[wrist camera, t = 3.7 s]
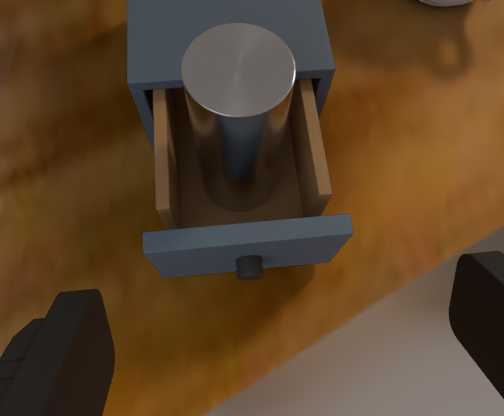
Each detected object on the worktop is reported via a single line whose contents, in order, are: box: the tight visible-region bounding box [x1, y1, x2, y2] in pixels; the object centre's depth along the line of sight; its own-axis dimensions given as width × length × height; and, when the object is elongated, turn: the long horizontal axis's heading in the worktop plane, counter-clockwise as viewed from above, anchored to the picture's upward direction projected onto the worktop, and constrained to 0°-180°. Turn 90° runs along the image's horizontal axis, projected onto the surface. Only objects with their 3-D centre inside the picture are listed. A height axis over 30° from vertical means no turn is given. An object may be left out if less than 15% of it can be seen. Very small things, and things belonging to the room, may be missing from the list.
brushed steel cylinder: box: [181, 23, 296, 212], centre depth 24 cm, size 5×5×12 cm
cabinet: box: [127, 0, 335, 150], centre depth 32 cm, size 15×13×9 cm
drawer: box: [143, 79, 353, 280], centre depth 28 cm, size 15×11×7 cm
